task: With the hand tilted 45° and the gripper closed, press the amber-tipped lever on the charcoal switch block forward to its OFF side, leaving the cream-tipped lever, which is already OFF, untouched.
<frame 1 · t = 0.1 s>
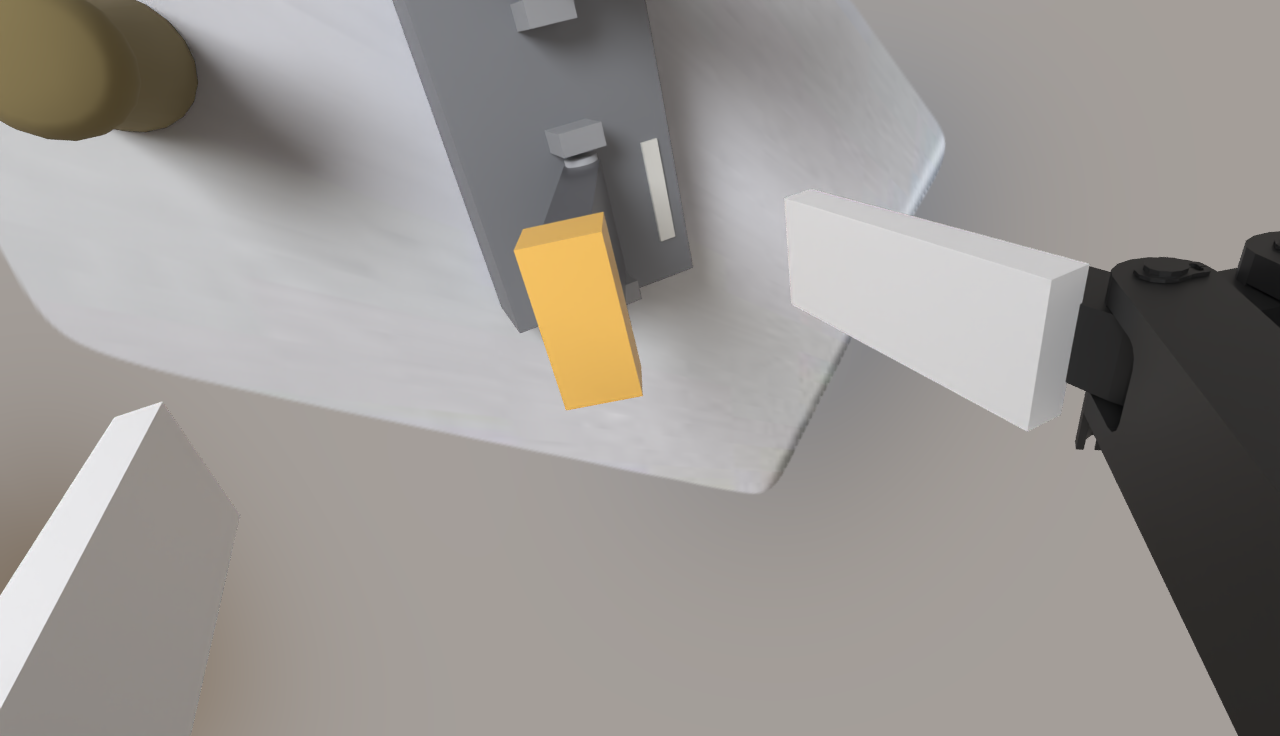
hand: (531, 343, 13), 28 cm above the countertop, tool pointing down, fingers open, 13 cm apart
amber lever: (590, 259, 30), point 12 cm above the countertop, hinge at -23.0°
switch block: (528, 76, 37), on the countertop
cork: (121, 64, 30), on the countertop
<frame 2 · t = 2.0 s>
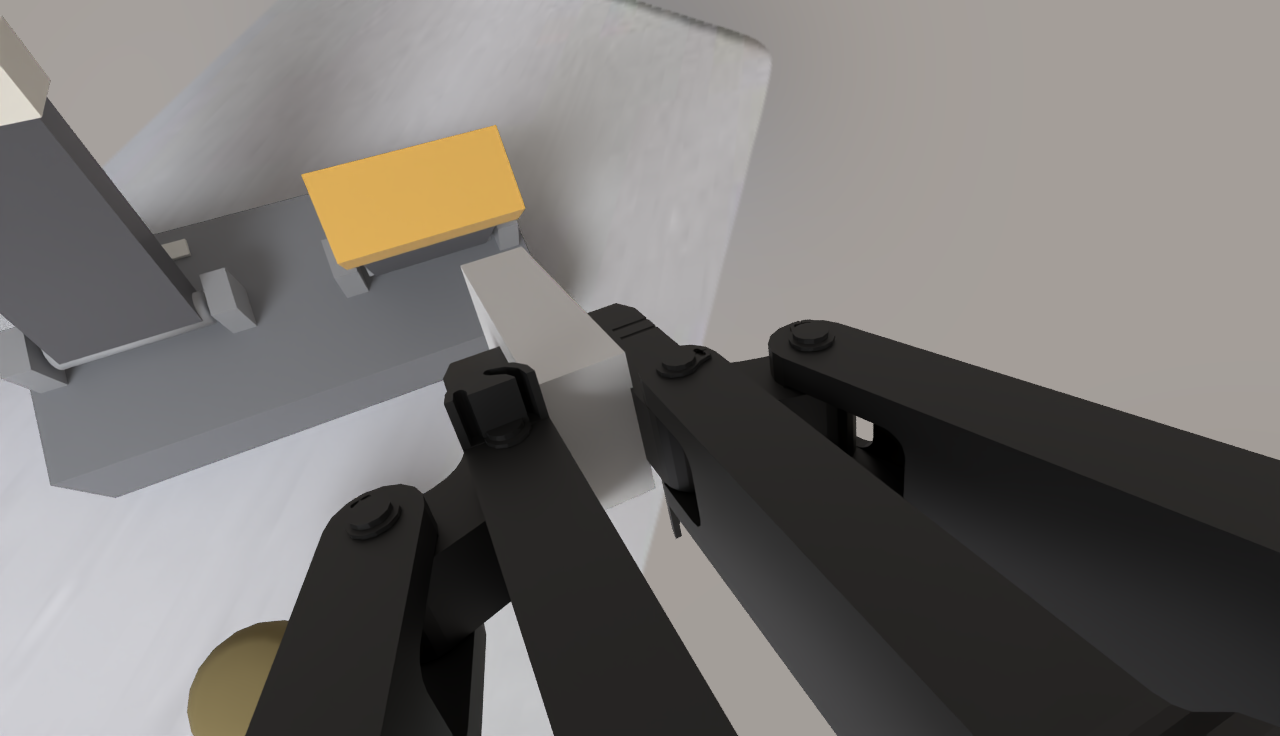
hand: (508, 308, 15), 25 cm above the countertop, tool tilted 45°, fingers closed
amber lever: (423, 224, 30), point 12 cm above the countertop, hinge at -23.0°
cream lever: (37, 227, 27), point 12 cm above the countertop, hinge at 23.0°
switch block: (324, 326, 40), on the countertop
cork: (334, 660, 34), on the countertop
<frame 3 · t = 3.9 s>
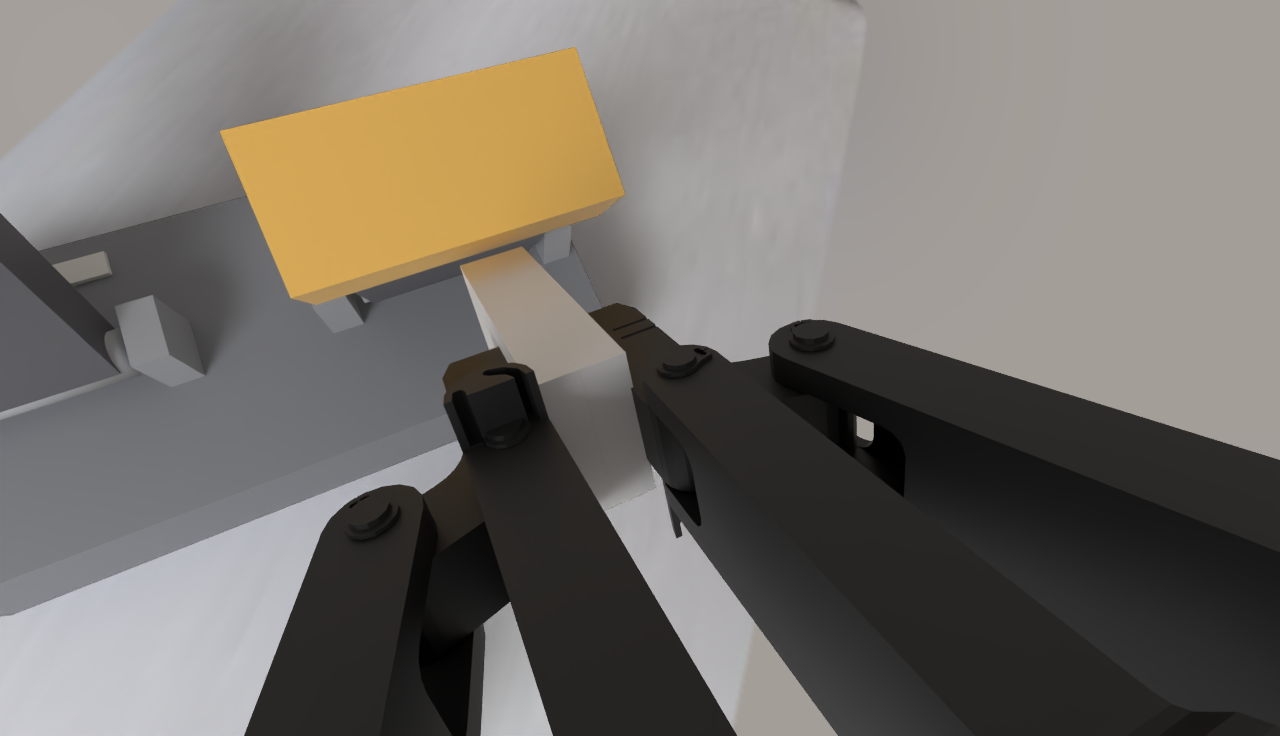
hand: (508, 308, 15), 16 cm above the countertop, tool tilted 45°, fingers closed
amber lever: (442, 227, 20), point 12 cm above the countertop, hinge at -21.6°, touching gripper
switch block: (306, 366, 30), on the countertop
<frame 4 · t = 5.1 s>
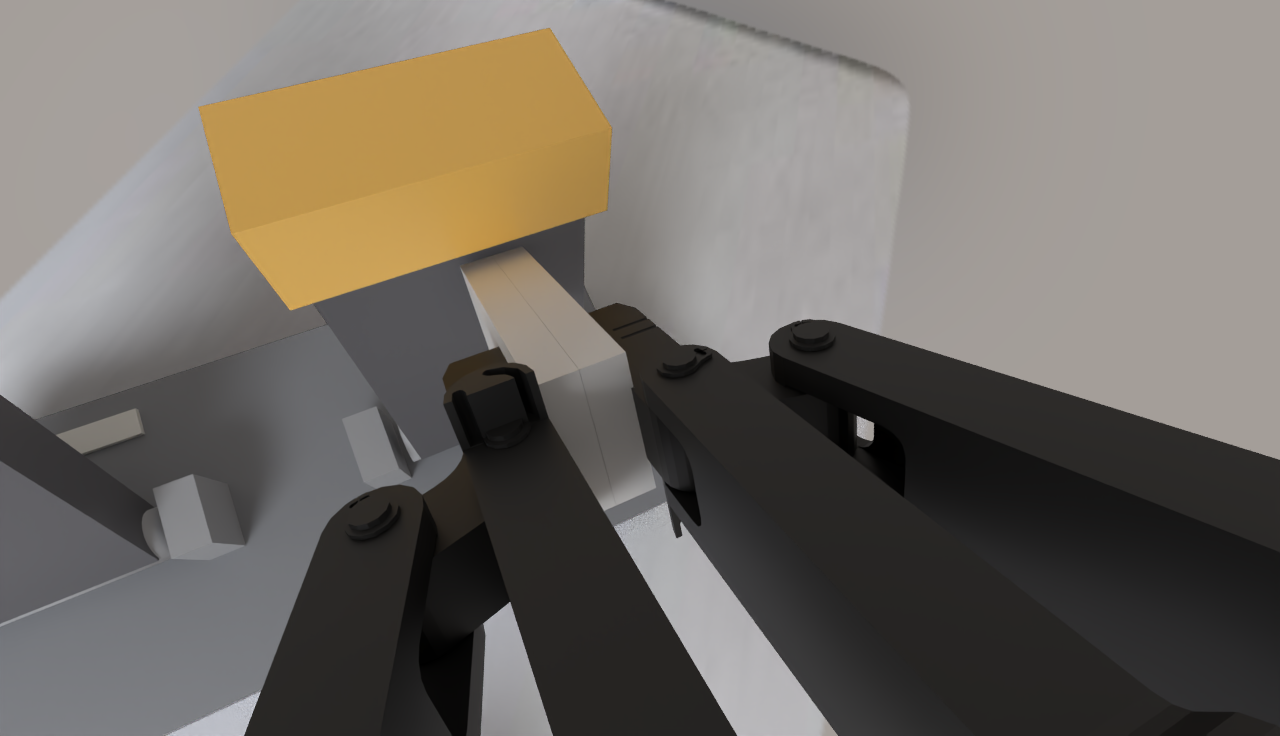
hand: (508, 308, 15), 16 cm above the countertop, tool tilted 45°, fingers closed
amber lever: (470, 317, 18), point 13 cm above the countertop, hinge at 10.0°, touching gripper
switch block: (343, 501, 28), on the countertop
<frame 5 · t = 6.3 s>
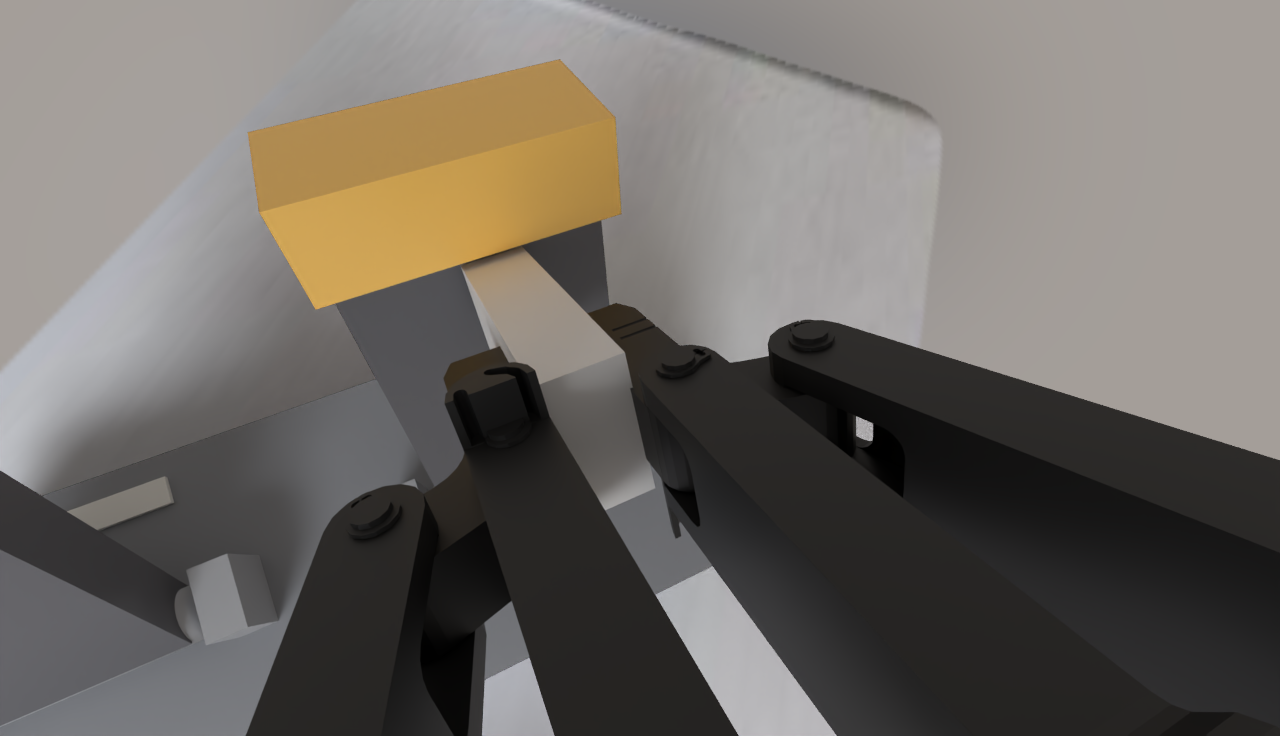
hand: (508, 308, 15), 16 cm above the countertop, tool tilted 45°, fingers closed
amber lever: (500, 357, 19), point 12 cm above the countertop, hinge at 25.5°, touching gripper
switch block: (372, 560, 27), on the countertop
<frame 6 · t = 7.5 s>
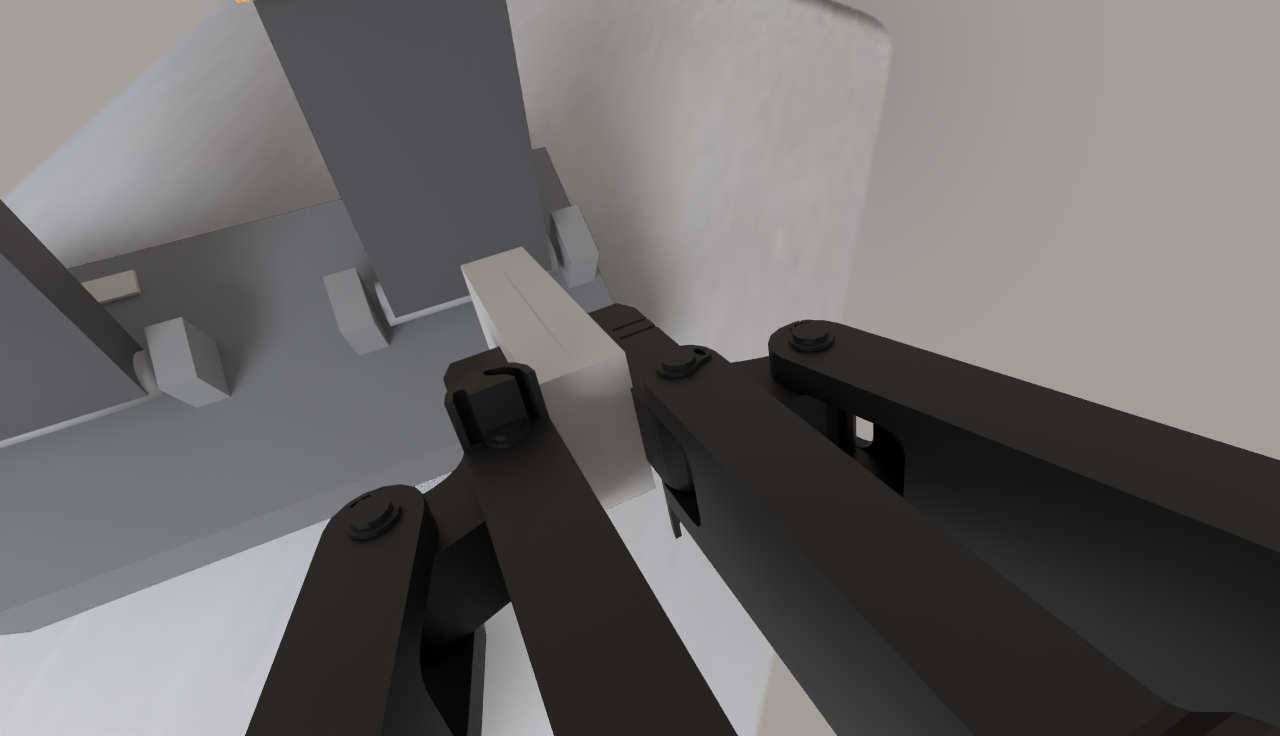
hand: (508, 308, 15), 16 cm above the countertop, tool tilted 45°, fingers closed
amber lever: (425, 130, 21), point 12 cm above the countertop, hinge at 25.0°
switch block: (328, 384, 30), on the countertop
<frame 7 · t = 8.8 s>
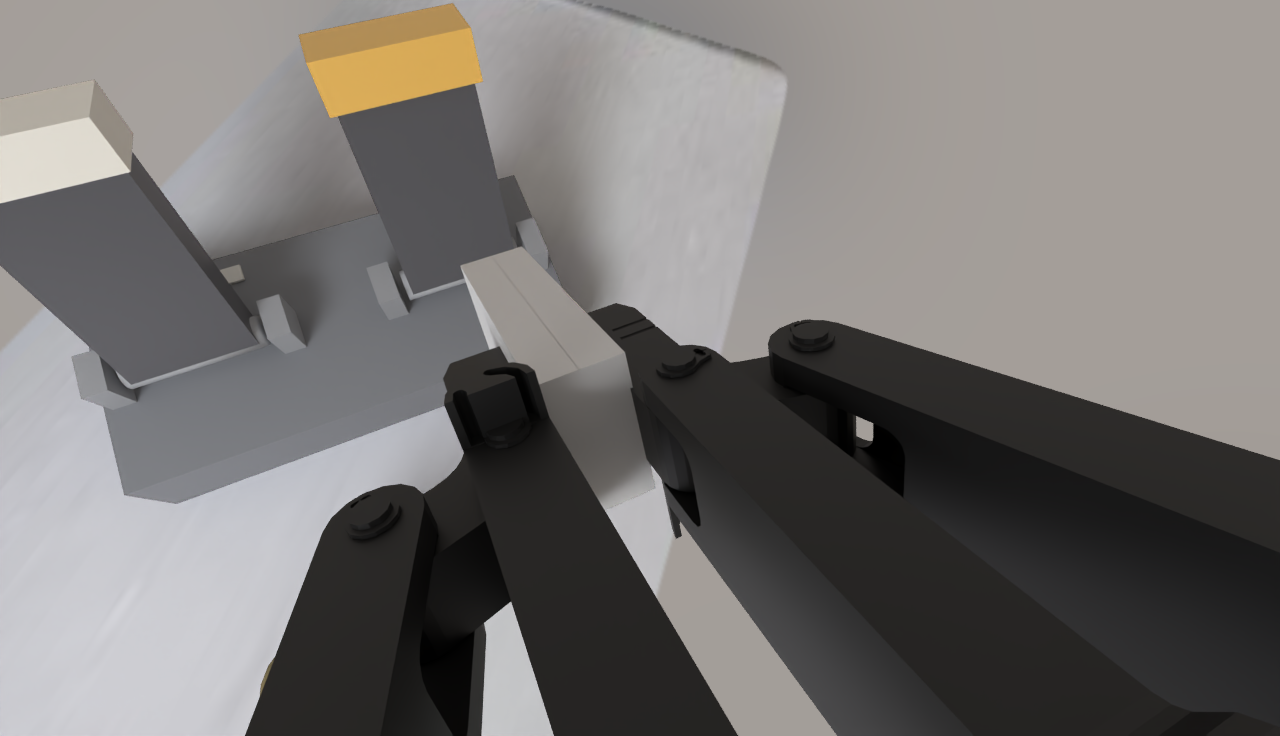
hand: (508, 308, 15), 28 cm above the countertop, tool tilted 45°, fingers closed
amber lever: (431, 175, 33), point 12 cm above the countertop, hinge at 25.0°
cream lever: (117, 264, 29), point 12 cm above the countertop, hinge at 23.0°
switch block: (364, 343, 42), on the countertop
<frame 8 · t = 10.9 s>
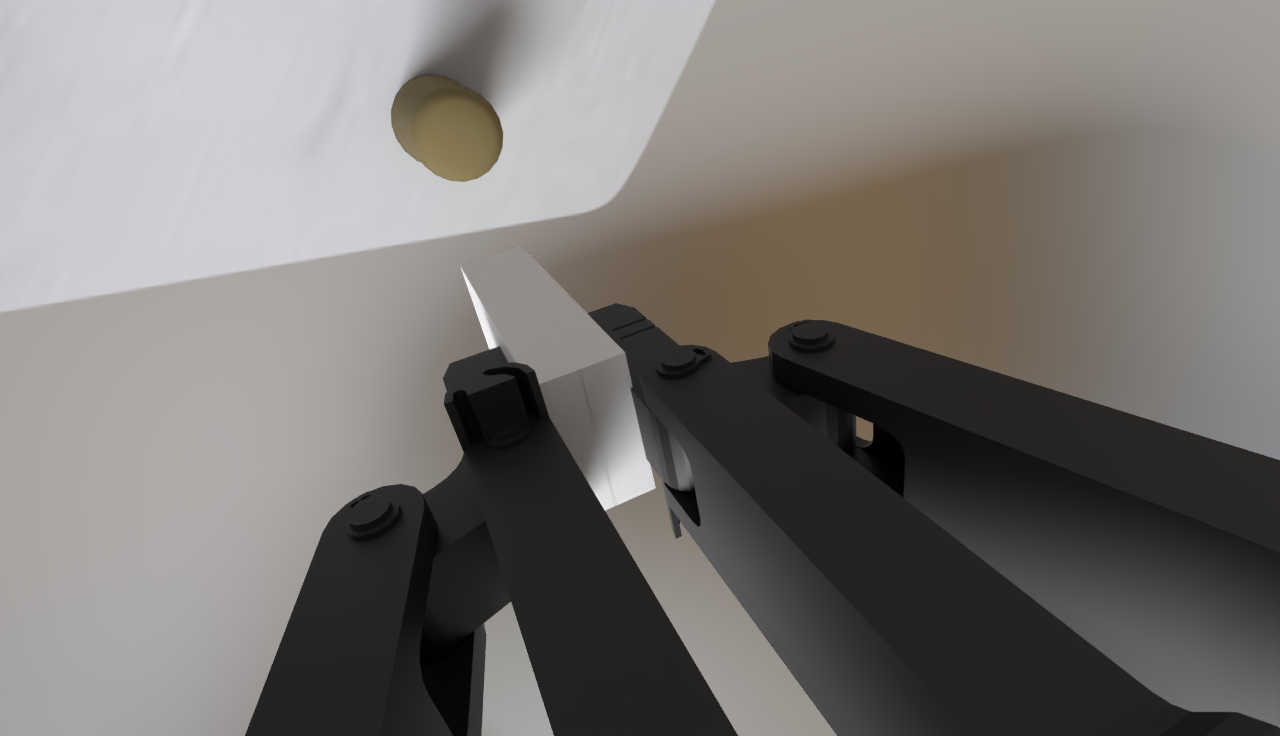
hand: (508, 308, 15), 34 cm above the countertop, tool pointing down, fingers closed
cork: (436, 121, 44), on the countertop
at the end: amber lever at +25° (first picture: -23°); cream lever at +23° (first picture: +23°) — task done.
